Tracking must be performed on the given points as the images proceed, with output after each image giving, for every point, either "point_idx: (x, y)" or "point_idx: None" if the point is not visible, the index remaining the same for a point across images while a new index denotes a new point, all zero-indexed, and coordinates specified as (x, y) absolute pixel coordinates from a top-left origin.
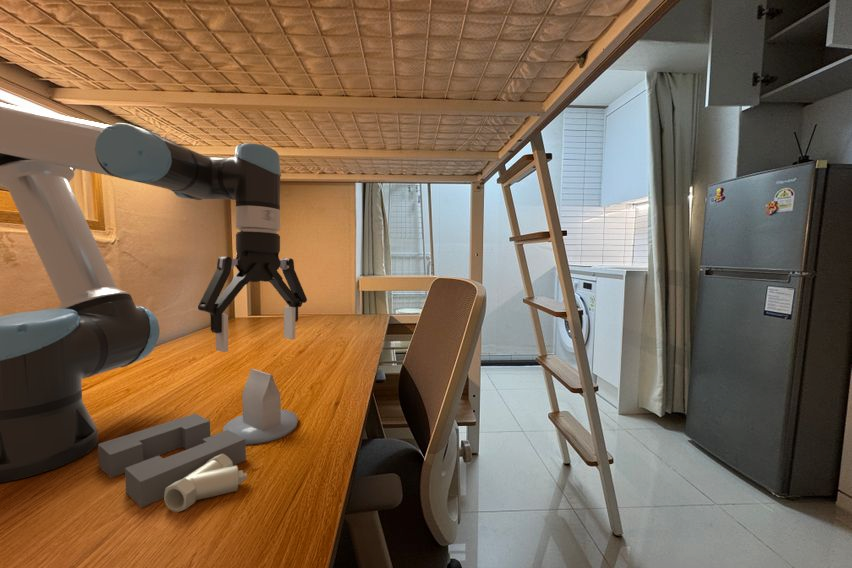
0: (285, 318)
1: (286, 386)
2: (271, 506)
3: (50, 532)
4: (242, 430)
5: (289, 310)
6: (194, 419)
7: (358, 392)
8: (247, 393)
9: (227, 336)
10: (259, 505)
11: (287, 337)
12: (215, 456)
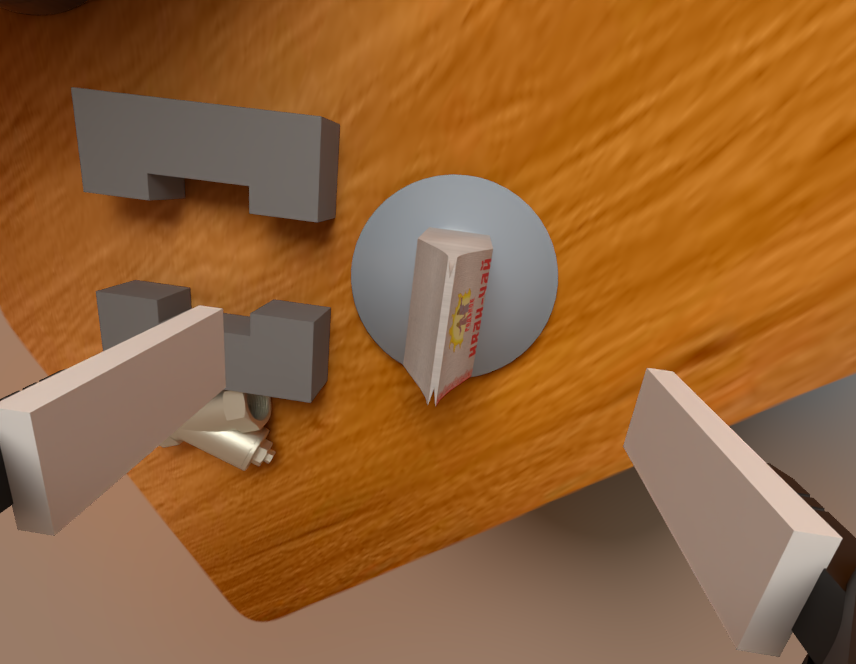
0: (709, 464)
1: (822, 12)
2: (270, 521)
3: (36, 290)
4: (391, 278)
5: (735, 579)
6: (295, 167)
7: (835, 356)
8: (414, 274)
9: (172, 429)
10: (260, 505)
11: (639, 404)
12: (241, 395)
